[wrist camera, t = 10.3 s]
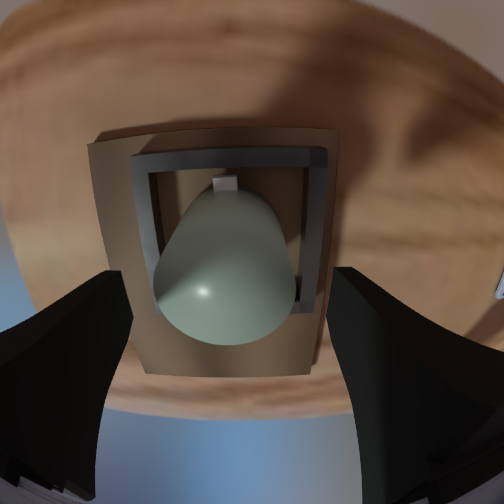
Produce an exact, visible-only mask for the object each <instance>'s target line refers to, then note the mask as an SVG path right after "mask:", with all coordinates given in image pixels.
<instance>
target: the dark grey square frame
mask: <svg viewBox="0 0 504 504" xmlns="http://www.w3.org/2000/svg"><path fill="white" fill-rule="evenodd" d="M129 160H130V169H131V178H132V186H133V193H134V200H135V207H136V213H137V220H138V226H139V232H140V237H141V243H142V248H143V253H144V258H145V263H146V268H147V273H148V278H149V282H150V287H151V291H152V295H153V299H154V304H155V308H156V312H157V315H164V314H163V313H162V311H161V309H160V307H159V305H158V304H157V301H156V298H155V294H154V289H153V278H154V272H155V268H156V265H157V263H158V261H159V259H160V257H161V255H162V253H163V251H164V249H165V247H166V245H165V238H164V232H163V224H162V217H161V209H160V201H159V193H158V183H157V174H156V172H163V171H176V170H191V169H210V168H238V167H304V171H303V197H302V217H301V235H300V250H299V264H298V278H297V289H296V296H295V301H294V304H293V307H292V309H291V311H290V313H289V314H305V313H314V305H315V298H316V290H317V282H318V274H319V265H320V256H321V246H322V236H323V225H324V213H325V200H326V186H327V169H328V149H326V148H324V147H322V146H303V145H233V146H209V147H193V148H179V149H168V150H158V151H148V152H140V153H137V154H134V155H132V156H130V157H129Z"/></svg>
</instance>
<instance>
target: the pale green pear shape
mask: <svg viewBox="0 0 504 504" xmlns="http://www.w3.org/2000/svg"><path fill="white" fill-rule="evenodd" d="M153 289H154V294H155V298H156V301H157V304H158V305H159V307H160V309H161V311H162V313H163V314H164V315H165V317H166V318H167V319H168V320H169V321H170V323H172V324H173V325H174V326H175V327H176V328H177V329H179V330H180V331H182V332H183V333H185V334H186V335H188V336H190V337H192V338H195V339H197V340H200V341H203V342H206V343H211V344H217V345H239V344H245V343H249V342H253V341H256V340H258V339H261V338H263V337H265V336H266V335H268V334H270V333H271V332H273V331H274V330H275V329H277V328H278V327H279V326H280V325H281V324H282V323H283V322H284V320H285V319H286V318H287V316H288V315H289V313H290V311H291V309H292V307H293V304H294V301H295V296H296V281H295V276H294V272H293V269H292V265H291V261H290V258H289V254H288V250H287V247H286V243H285V239H284V236H283V232H282V229H281V225H280V222H279V219H278V216H277V213H276V211H275V210H274V208H273V207H272V205H271V204H270V203H269V202H268V201H267V199H266V198H264V197H263V196H262V195H260V194H259V193H257V192H256V191H254V190H251V189H249V188H246V187H243V186H238V183H237V174H228V175H214V177H213V188H211V189H209V190H207V191H205V192H203V193H201V194H200V195H199V196H198V197H196V198H195V199H194V200H193V201H192V202H191V204H190V205H189V207H188V208H187V210H186V212H185V213H184V215H183V217H182V219H181V220H180V222H179V224H178V226H177V227H176V229H175V231H174V233H173V235H172V236H171V238H170V240H169V242H168V244H167V246H166V247H165V249H164V251H163V253H162V255H161V257H160V259H159V261H158V263H157V265H156V268H155V272H154V278H153Z"/></svg>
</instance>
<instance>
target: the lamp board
mask: <svg viewBox="0 0 504 504" xmlns="http://www.w3.org/2000/svg"><path fill="white" fill-rule="evenodd" d="M338 136H339V130H334V129H319V128H298V127H230V128H209V129H194V130H182V131H171V132H162V133H153V134H145V135H138V136H130V137H124V138H117V139H111V140H106V141H100V142H95V143H91V144H87V146H88V155H89V163H90V171H91V178H92V184H93V191H94V197H95V202H96V208H97V213H98V218H99V223H100V228H101V232H102V237H103V241H104V246H105V250H106V254H107V258H108V262H109V266H110V270H121V273H122V277H123V281H124V285H125V288H126V292H127V295H128V299H129V302H130V306H131V309H132V312H133V316H134V318H133V322H132V326H131V331H130V334H131V337H132V340H133V342H134V345H135V348H136V351H137V353H138V356H139V358H140V361H141V363H142V366H143V368H144V371H145V373H147V374H159V375H172V376H191V377H274V376H292V375H306V374H310V371H311V366H312V361H313V356H314V350H315V345H316V339H317V334H318V328H319V322H320V316H321V310H322V303H323V296H324V290H325V283H326V275H327V268H328V260H329V251H330V243H331V233H332V224H333V213H334V202H335V189H336V175H337V158H338ZM233 145H303V146H322V147H324V148H326V149H328V169H327V186H326V200H325V213H324V225H323V236H322V246H321V256H320V265H319V274H318V282H317V290H316V298H315V305H314V313H305V314H289V315H288V316H287V318H286V319H285V320H284V322H283V323H282V324H281V325H280V326H279V327H278V328H277V329H275V330H274V331H273V332H271V333H270V334H268V335H266V336H265V337H263V338H261V339H258V340H256V341H253V342H249V343H245V344H239V345H217V344H211V343H206V342H203V341H200V340H197V339H195V338H192V337H190V336H188V335H186V334H185V333H183V332H182V331H180V330H179V329H177V328H176V327H175V326H174V325H173V324H172V323H170V321H169V320H168V319H167V318H166V317H165V315H157V312H156V308H155V304H154V299H153V295H152V291H151V287H150V282H149V278H148V273H147V268H146V263H145V258H144V253H143V248H142V243H141V237H140V232H139V226H138V220H137V213H136V207H135V200H134V193H133V186H132V178H131V169H130V160H129V157H130V156H132V155H134V154H137V153H140V152H148V151H158V150H168V149H179V148H193V147H209V146H233ZM303 171H304V167H238V168H210V169H191V170H176V171H163V172H156V174H157V183H158V193H159V201H160V209H161V217H162V224H163V232H164V238H165V245H166V246H167V244H168V242H169V240H170V238H171V236H172V235H173V233H174V231H175V229H176V227H177V226H178V224H179V222H180V220H181V219H182V217H183V215H184V213H185V212H186V210H187V208H188V207H189V205H190V204H191V202H192V201H193V200H194V199H195V198H196V197H198V196H199V195H200V194H201V193H203V192H205V191H207V190H209V189H211V188H213V177H214V175H228V174H237V183H238V186H243V187H246V188H249V189H251V190H254V191H256V192H257V193H259V194H260V195H262V196H263V197H264V198H266V199H267V201H268V202H269V203H270V204H271V205H272V207H273V208H274V210H275V211H276V213H277V216H278V219H279V222H280V225H281V229H282V232H283V236H284V239H285V243H286V247H287V250H288V254H289V258H290V261H291V265H292V269H293V272H294V276H295V281H296V289H297V278H298V264H299V250H300V235H301V217H302V197H303Z"/></svg>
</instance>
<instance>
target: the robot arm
mask: <svg viewBox="0 0 504 504" xmlns="http://www.w3.org/2000/svg"><path fill="white" fill-rule="evenodd" d="M495 297H496V298H497V299H502V298H504V272H503V275H502V277H501V280H500V283H499V285H498V288H497V290H496V293H495ZM133 318H134V316H133V312H132V309H131V306H130V302H129V299H128V295H127V292H126V288H125V285H124V281H123V277H122V273H121V270H106V271H104V272H101V273H100V274H98V275H96V276H94V277H93V278H91V279H89V280H88V281H86V282H85V283H83V284H82V285H80V286H79V287H77V288H76V289H74V290H73V291H71V292H70V293H68V294H67V295H65V296H64V297H62V298H61V299H59V300H57V301H56V302H54V303H53V304H51V305H50V306H48V307H47V308H45V309H43V310H42V311H40V312H39V313H37V314H35V315H34V316H32V317H30V318H29V319H27V320H25V321H23V322H21V323H19V324H17V325H16V326H14V327H12V328H9V329H7V330H5V331H3V332H1V333H0V504H82V503H79V502H77V501H74V500H71V499H69V498H66V497H64V496H62V495H59V494H57V493H55V492H53V491H51V490H52V489H53V490H55V491H58V492H60V493H63V492H64V493H66V494H68V495H71V496H74V497H76V498H79V499H81V500H84V501H91V500H93V499H94V498H95V462H96V449H97V441H98V434H99V428H100V421H101V417H102V412H103V408H104V403H105V399H106V396H107V393H108V390H109V387H110V384H111V382H112V379H113V376H114V374H115V371H116V369H117V366H118V364H119V361H120V359H121V356H122V354H123V351H124V349H125V346H126V344H127V341H128V338H129V334H130V331H131V326H132V322H133ZM326 318H327V323H328V328H329V333H330V337H331V341H332V344H333V347H334V350H335V353H336V356H337V359H338V362H339V365H340V368H341V371H342V374H343V377H344V380H345V383H346V386H347V389H348V392H349V395H350V399H351V403H352V407H353V413H354V418H355V424H356V429H357V437H358V444H359V451H360V461H361V473H362V496H363V497H362V498H363V501H362V504H504V352H502V351H499V350H496V349H493V348H490V347H487V346H484V345H481V344H479V343H476V342H474V341H471V340H469V339H467V338H464V337H462V336H460V335H458V334H455V333H453V332H451V331H449V330H447V329H445V328H443V327H442V326H440V325H438V324H436V323H434V322H432V321H431V320H429V319H427V318H425V317H424V316H422V315H420V314H419V313H417V312H416V311H414V310H413V309H411V308H410V307H408V306H406V305H405V304H403V303H402V302H401V301H399V300H398V299H396V298H395V297H393V296H392V295H391V294H389V293H388V292H386V291H385V290H384V289H382V288H381V287H380V286H378V285H377V284H375V283H374V282H373V281H371V280H370V279H369V278H367V277H366V276H364V275H363V274H362V273H360V272H359V271H357V270H356V269H354V268H352V267H334V269H333V276H332V283H331V289H330V296H329V302H328V308H327V314H326Z"/></svg>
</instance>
